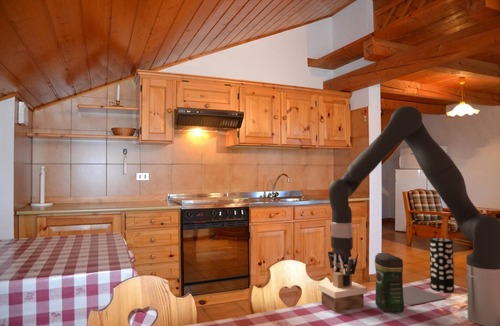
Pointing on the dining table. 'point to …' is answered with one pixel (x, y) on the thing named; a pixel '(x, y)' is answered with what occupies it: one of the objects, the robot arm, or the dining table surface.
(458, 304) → the dining table surface
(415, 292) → the mat
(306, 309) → the dining table surface
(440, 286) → the spotted tube
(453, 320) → the dining table surface
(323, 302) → the tea box
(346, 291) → the lid
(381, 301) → the coffee jar
